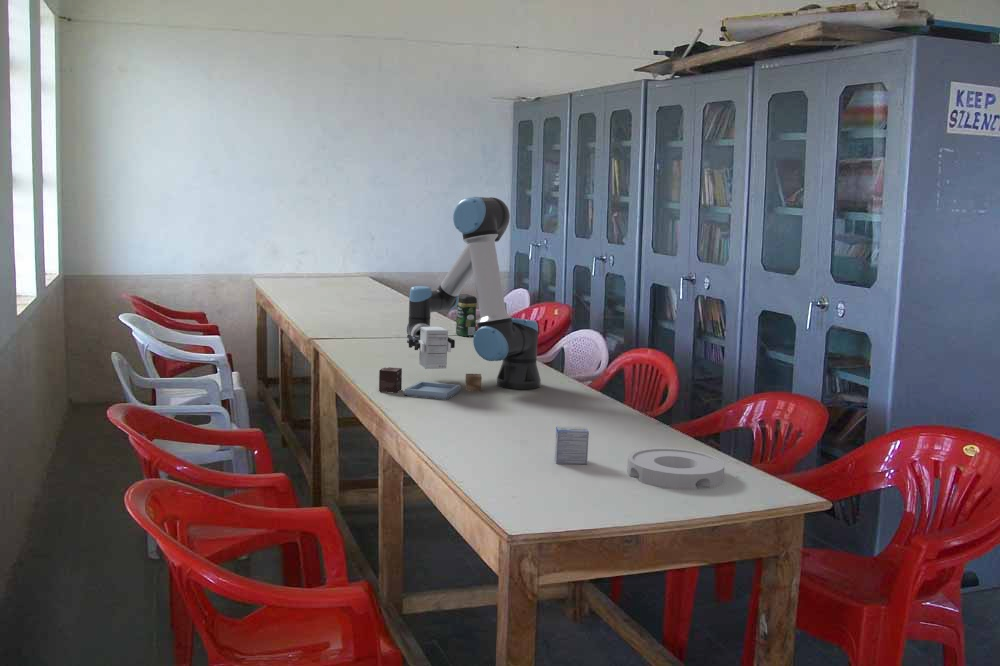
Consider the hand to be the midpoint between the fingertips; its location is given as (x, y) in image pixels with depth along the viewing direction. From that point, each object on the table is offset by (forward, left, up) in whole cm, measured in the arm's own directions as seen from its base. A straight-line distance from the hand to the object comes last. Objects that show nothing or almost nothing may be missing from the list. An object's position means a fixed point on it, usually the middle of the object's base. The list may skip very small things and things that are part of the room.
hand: (436, 347), depth 314 cm
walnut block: (-8, -16, -16) cm, 24 cm away
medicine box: (-56, +57, -16) cm, 81 cm away
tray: (+2, -4, -16) cm, 17 cm away
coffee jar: (+30, -128, -16) cm, 133 cm away
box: (+16, -2, -16) cm, 23 cm away
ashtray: (-82, +58, -16) cm, 102 cm away
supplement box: (+2, -4, -7) cm, 9 cm away
